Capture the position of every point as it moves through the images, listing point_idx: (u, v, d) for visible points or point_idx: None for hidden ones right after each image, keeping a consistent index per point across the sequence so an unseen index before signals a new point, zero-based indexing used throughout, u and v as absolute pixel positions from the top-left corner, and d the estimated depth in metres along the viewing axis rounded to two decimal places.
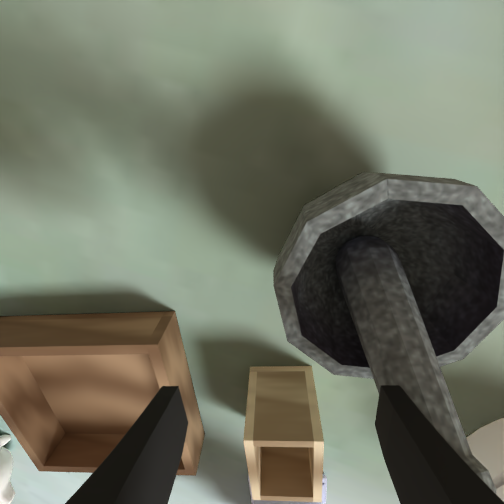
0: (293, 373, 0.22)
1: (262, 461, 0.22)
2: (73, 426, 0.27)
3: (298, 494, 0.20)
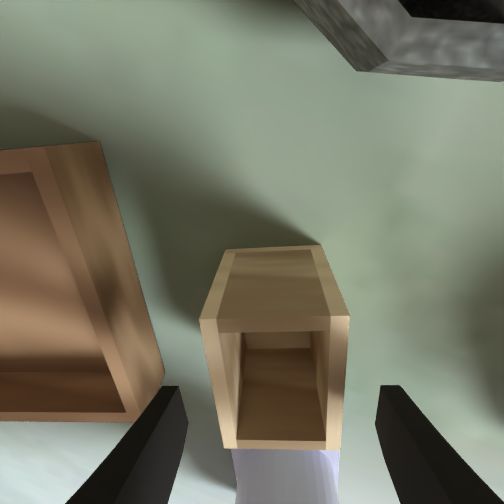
0: (292, 251, 0.14)
1: (243, 393, 0.14)
2: None
3: (300, 437, 0.12)
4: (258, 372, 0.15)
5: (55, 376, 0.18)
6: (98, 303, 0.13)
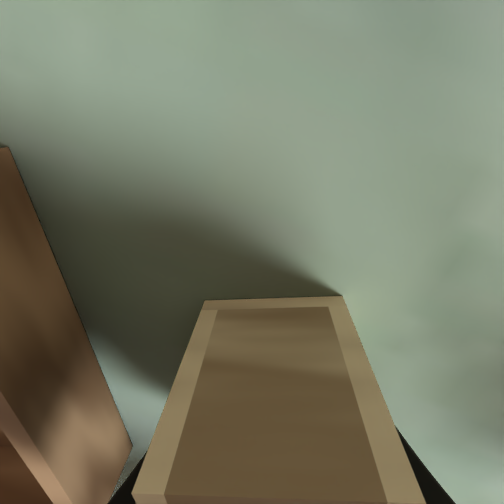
0: (301, 311, 0.09)
1: None
2: None
3: None
4: None
5: None
6: (2, 399, 0.08)
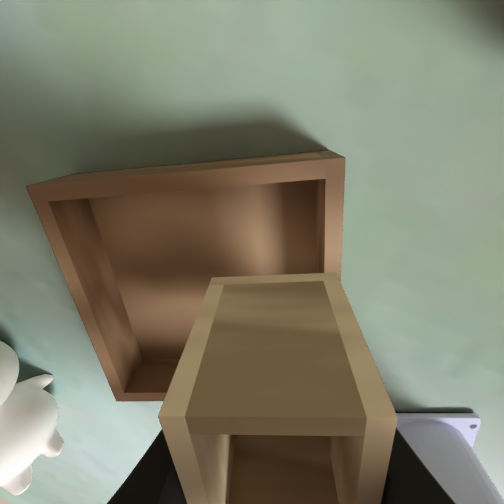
0: (299, 284, 0.10)
1: (234, 470, 0.11)
2: (155, 348, 0.21)
3: None
4: (255, 435, 0.12)
5: None
6: None
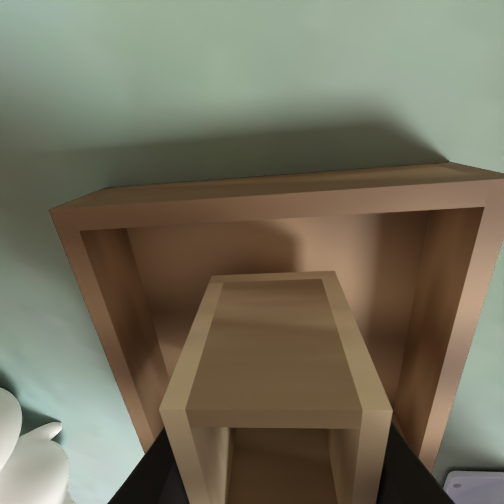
0: (298, 282, 0.11)
1: (234, 466, 0.11)
2: None
3: None
4: (254, 432, 0.12)
5: None
6: (464, 352, 0.11)
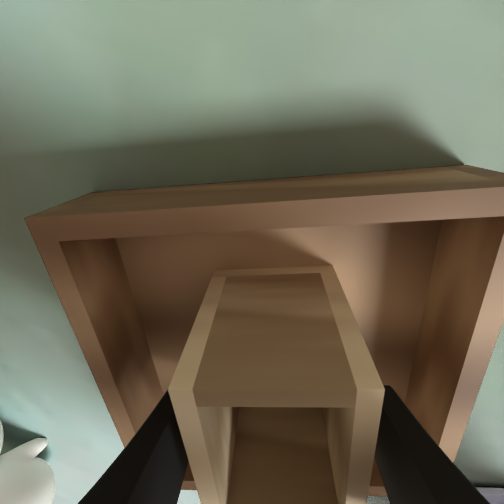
0: (297, 276, 0.11)
1: (236, 452, 0.11)
2: None
3: None
4: (255, 420, 0.12)
5: None
6: (481, 372, 0.10)
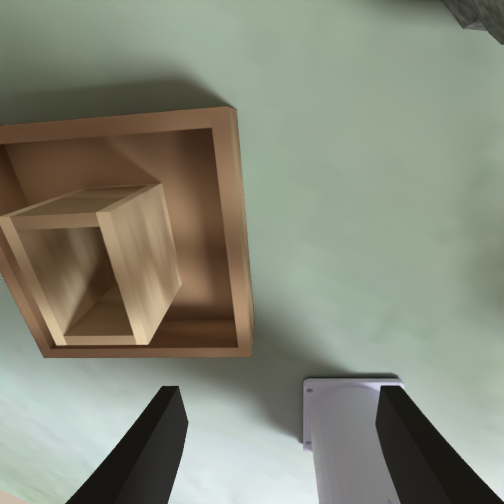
0: (131, 186, 0.16)
1: (90, 309, 0.16)
2: None
3: (116, 333, 0.14)
4: (113, 296, 0.18)
5: None
6: (238, 244, 0.15)
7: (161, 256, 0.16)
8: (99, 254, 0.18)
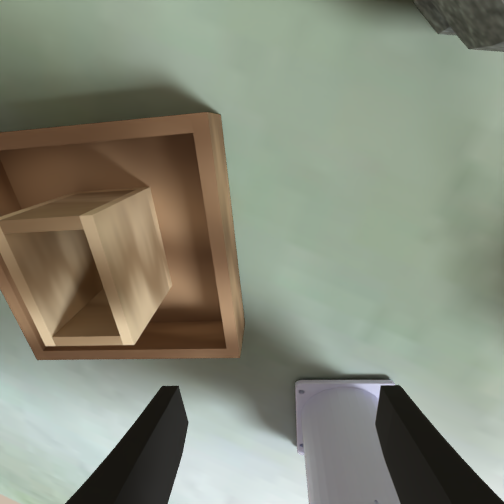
0: (120, 191, 0.17)
1: (80, 311, 0.17)
2: None
3: (103, 334, 0.15)
4: (104, 298, 0.18)
5: (151, 325, 0.21)
6: (223, 246, 0.15)
7: (149, 258, 0.17)
8: (89, 257, 0.18)
